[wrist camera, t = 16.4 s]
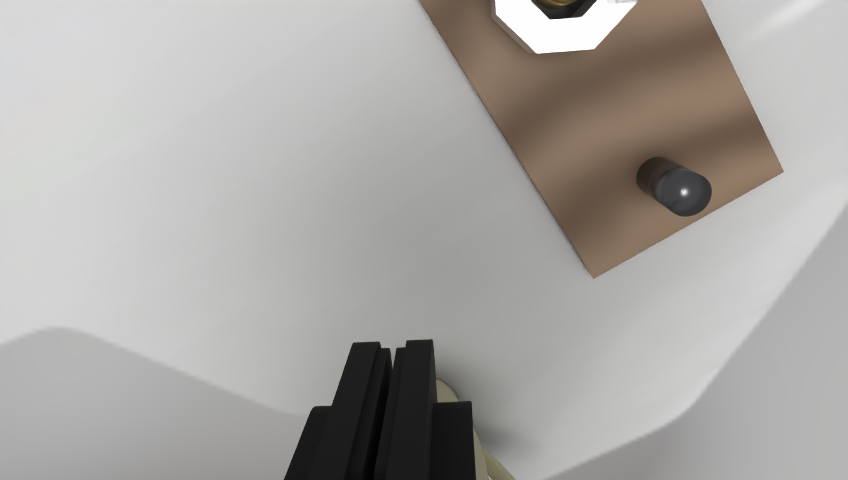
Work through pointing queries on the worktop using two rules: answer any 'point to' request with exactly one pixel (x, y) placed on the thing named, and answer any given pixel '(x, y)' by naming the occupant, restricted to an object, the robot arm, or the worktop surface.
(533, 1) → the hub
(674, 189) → the stand rod
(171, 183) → the worktop surface
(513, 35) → the white octagonal block
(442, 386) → the mug
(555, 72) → the base board
